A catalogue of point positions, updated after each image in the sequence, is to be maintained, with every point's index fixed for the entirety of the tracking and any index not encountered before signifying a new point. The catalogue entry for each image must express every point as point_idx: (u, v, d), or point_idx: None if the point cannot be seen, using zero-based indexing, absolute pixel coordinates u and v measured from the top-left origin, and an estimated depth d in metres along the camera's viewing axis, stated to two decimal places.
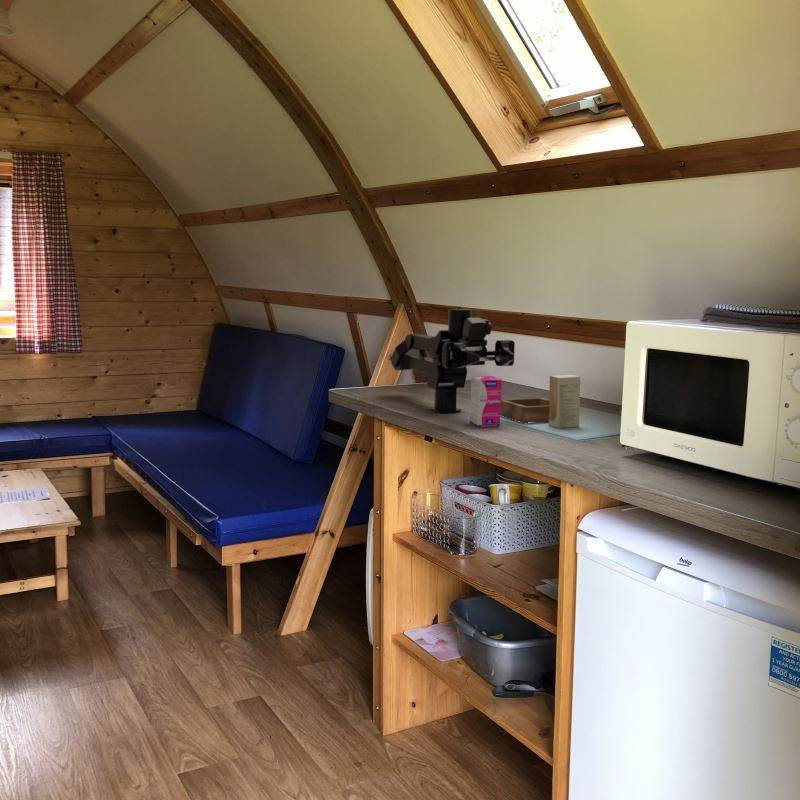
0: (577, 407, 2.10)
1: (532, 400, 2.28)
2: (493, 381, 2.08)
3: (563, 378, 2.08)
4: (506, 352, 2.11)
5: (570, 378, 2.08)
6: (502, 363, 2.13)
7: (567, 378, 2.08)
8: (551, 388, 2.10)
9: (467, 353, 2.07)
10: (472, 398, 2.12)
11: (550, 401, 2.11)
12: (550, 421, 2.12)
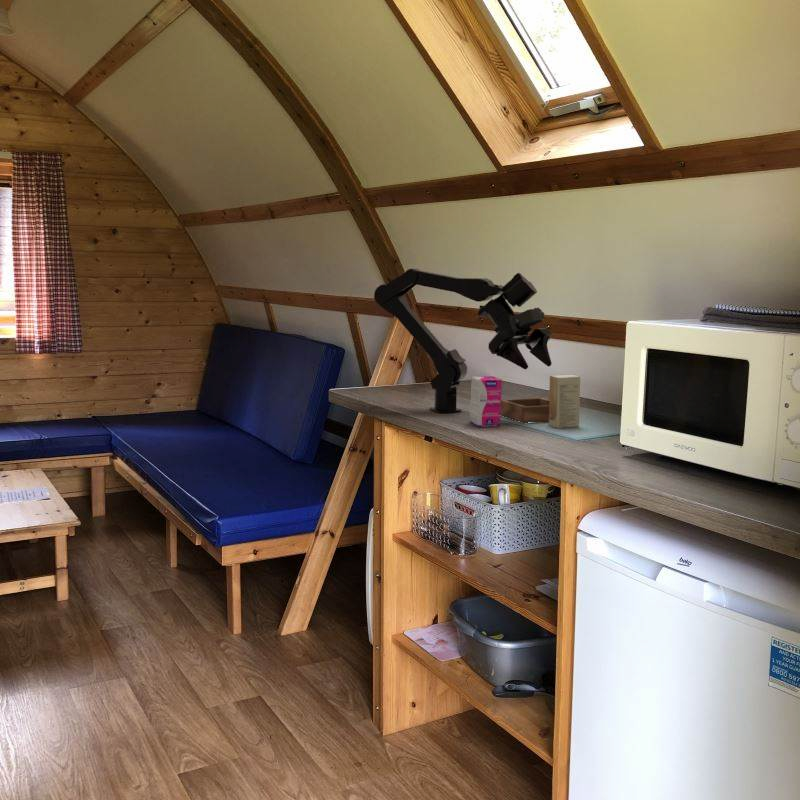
0: (577, 407, 2.10)
1: (532, 400, 2.28)
2: (493, 381, 2.08)
3: (563, 378, 2.08)
4: (544, 353, 2.20)
5: (570, 378, 2.08)
6: (534, 354, 2.22)
7: (567, 378, 2.08)
8: (551, 388, 2.10)
9: (518, 355, 2.12)
10: (472, 398, 2.12)
11: (550, 401, 2.11)
12: (550, 421, 2.12)
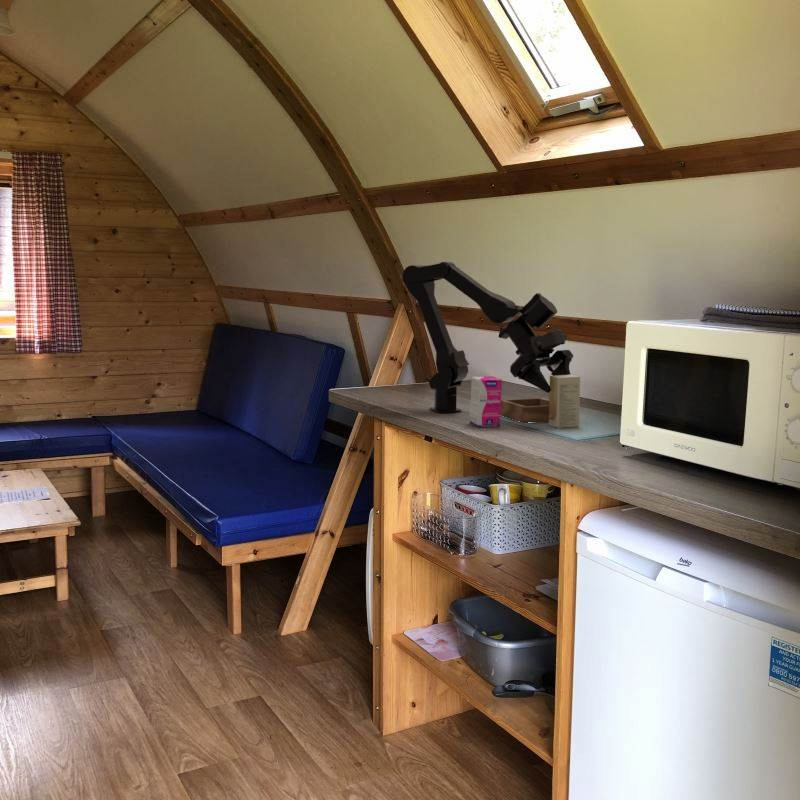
0: (577, 407, 2.10)
1: (532, 400, 2.28)
2: (493, 381, 2.08)
3: (563, 378, 2.08)
4: None
5: (570, 378, 2.08)
6: None
7: (567, 378, 2.08)
8: (551, 388, 2.10)
9: (540, 378, 2.08)
10: (472, 398, 2.12)
11: (550, 401, 2.11)
12: (550, 421, 2.12)
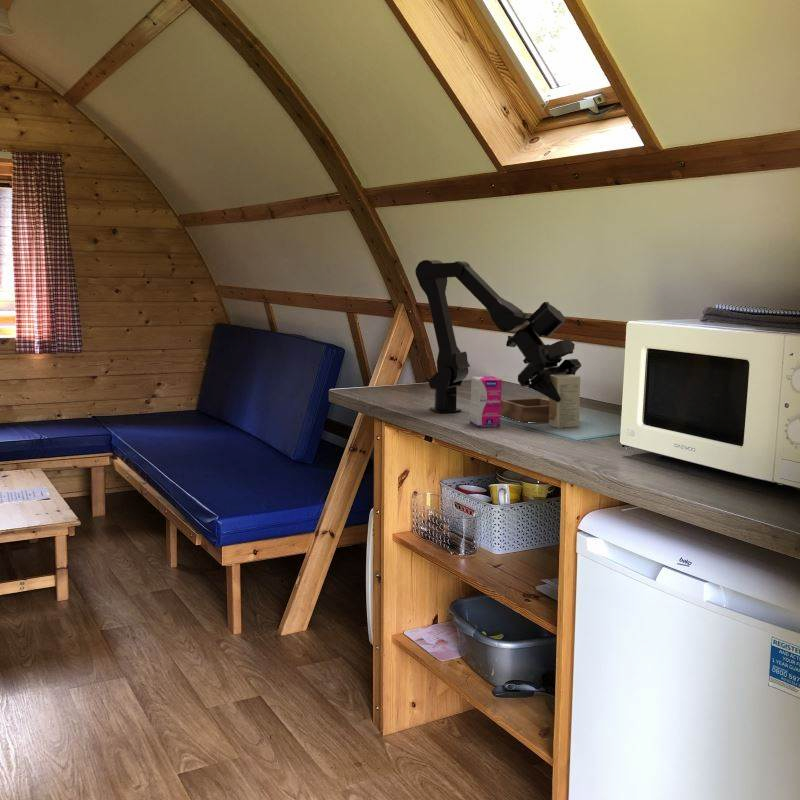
0: (577, 407, 2.10)
1: (532, 400, 2.28)
2: (493, 381, 2.08)
3: (563, 378, 2.08)
4: None
5: (570, 378, 2.08)
6: None
7: (567, 378, 2.08)
8: None
9: (550, 387, 2.07)
10: (472, 398, 2.12)
11: (550, 401, 2.11)
12: (550, 421, 2.12)
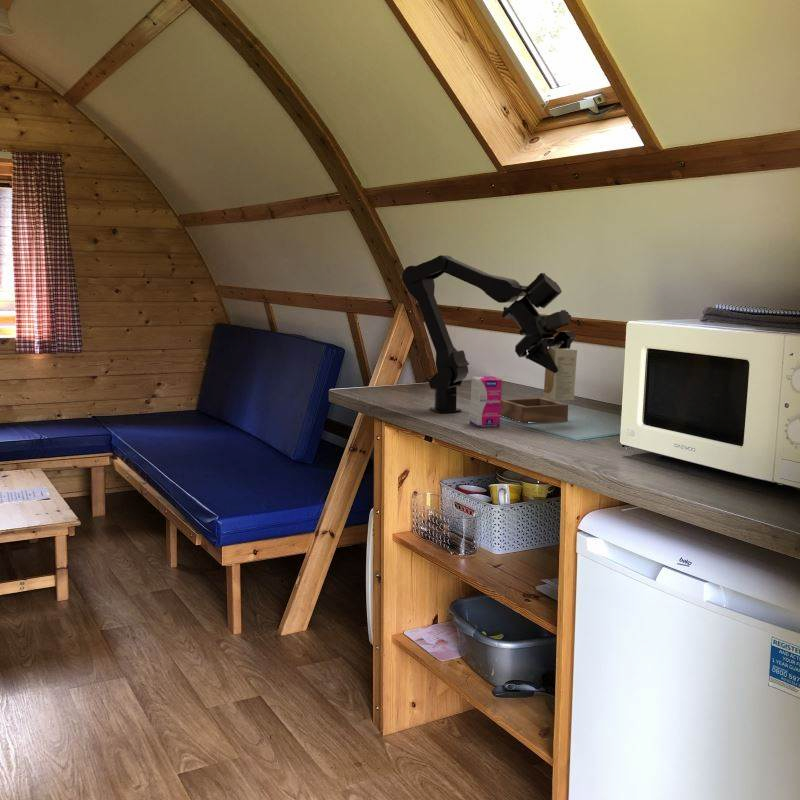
0: (573, 380, 2.11)
1: (532, 400, 2.28)
2: (493, 381, 2.08)
3: (561, 350, 2.09)
4: None
5: (567, 351, 2.09)
6: None
7: (564, 351, 2.09)
8: None
9: (548, 358, 2.08)
10: (472, 398, 2.12)
11: (546, 374, 2.12)
12: (546, 393, 2.12)
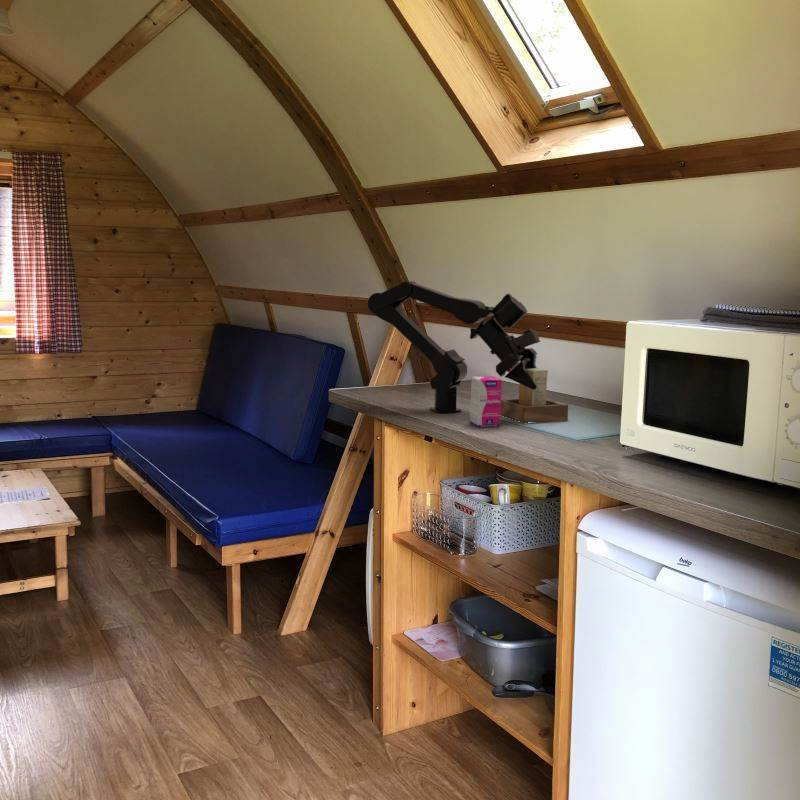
0: (544, 399, 2.22)
1: None
2: (493, 381, 2.08)
3: (537, 371, 2.18)
4: None
5: (541, 371, 2.20)
6: None
7: (539, 371, 2.19)
8: None
9: (527, 376, 2.17)
10: (472, 398, 2.12)
11: (521, 394, 2.20)
12: None
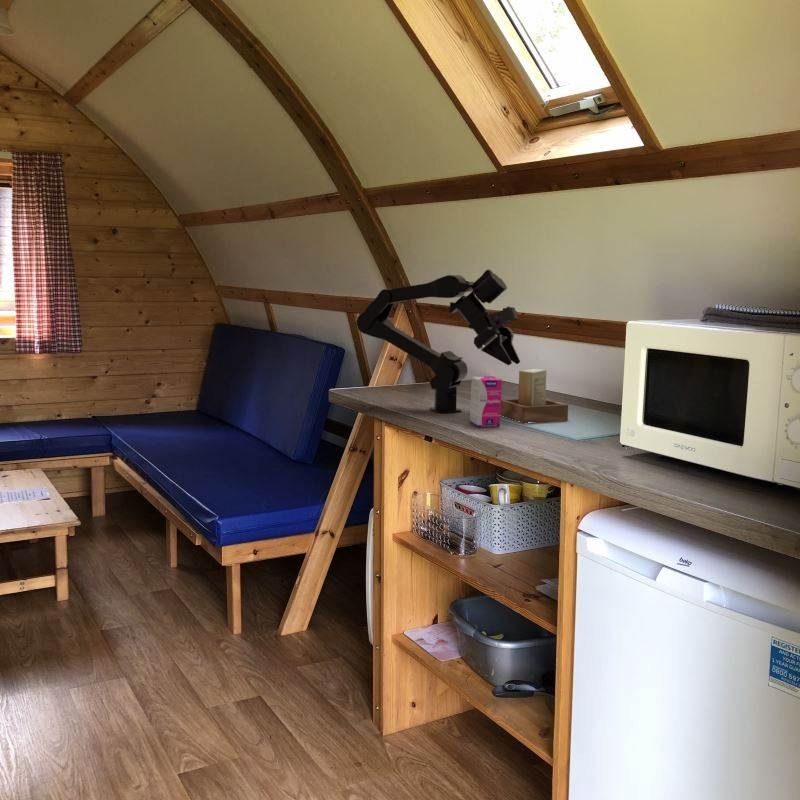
0: (544, 399, 2.22)
1: None
2: (493, 381, 2.08)
3: (536, 372, 2.18)
4: (513, 351, 2.26)
5: (540, 372, 2.19)
6: None
7: (538, 372, 2.19)
8: (522, 383, 2.19)
9: (503, 351, 2.17)
10: (472, 398, 2.12)
11: (520, 395, 2.20)
12: None
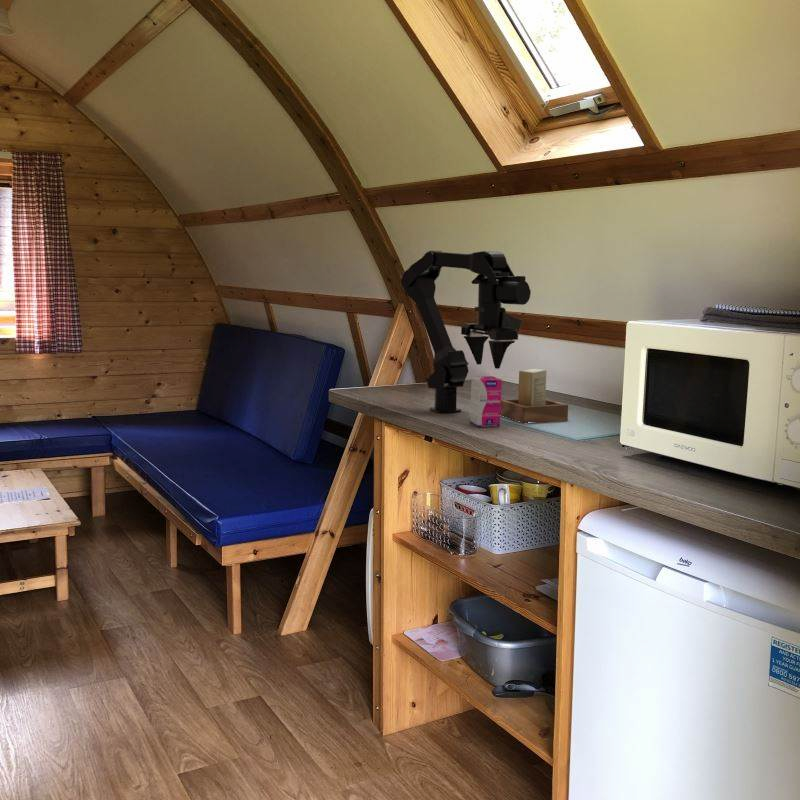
0: (544, 399, 2.22)
1: None
2: (493, 381, 2.08)
3: (536, 372, 2.18)
4: (481, 351, 2.24)
5: (540, 372, 2.19)
6: (471, 342, 2.22)
7: (538, 372, 2.19)
8: (522, 383, 2.19)
9: (503, 354, 2.14)
10: (472, 398, 2.12)
11: (520, 395, 2.20)
12: None
